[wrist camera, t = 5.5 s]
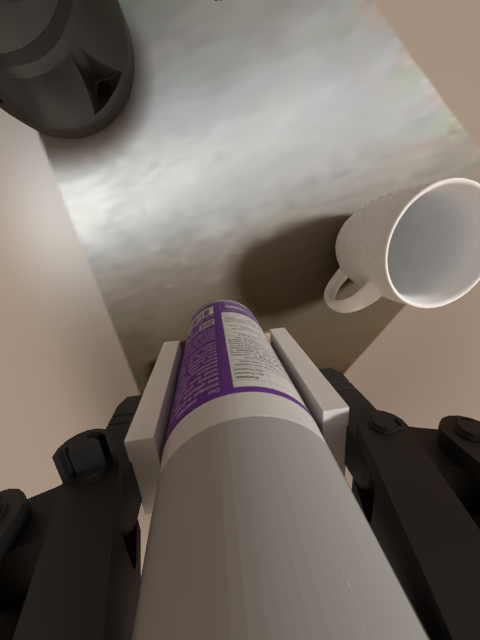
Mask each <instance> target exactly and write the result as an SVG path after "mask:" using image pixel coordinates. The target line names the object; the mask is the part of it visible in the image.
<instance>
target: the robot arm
mask: <svg viewBox="0 0 480 640" xmlns="http://www.w3.org/2000/svg"><path fill="white" fill-rule="evenodd" d="M215 1H223V0H215ZM133 74H134V55H133V47H132V41H131V36H130V32H129V29H128V26H127V22H126V20H125V17H124V15H123V12H122V9H121V7H120V4H119V2H118V0H0V108H2V109H3V110H4V111H6V112H7V113H9V114H10V115H12V116H13V117H15V118H16V119H18V120H20V121H21V122H23V123H24V124H26V125H28V126H30V127H31V128H33V129H35V130H37V131H40V132H42V133H45V134H48V135H51V136H56V137H61V138H81V137H86V136H89V135H92V134H95V133H97V132H99V131H101V130H103V129H104V128H106V127H107V126H108V125H110V124H111V123H112V122H113V121H114V120H115V119H116V118H117V116H118V115H119V114H120V112H121V111H122V109H123V108H124V106H125V104H126V102H127V99H128V97H129V94H130V91H131V87H132V81H133ZM270 341H271V346H272V348H273V349H274V351H275V353H276V355H277V356H278V358H279V360H280V361H281V363H282V365H283V367H284V368H285V370H286V372H287V374H288V375H289V377H290V379H291V380H292V382H293V384H294V386H295V387H296V389H297V391H298V393H299V394H300V396H301V398H302V400H303V401H304V403H305V405H306V406H307V408H308V410H309V412H310V413H311V415H312V417H313V419H314V420H315V422H316V424H317V426H318V428H319V430H320V432H321V434H322V436H323V438H324V440H325V441H326V443H327V445H328V447H329V449H330V451H331V453H332V454H333V456H334V458H335V460H336V462H337V464H338V466H339V468H340V470H341V471H342V473H343V475H344V477H345V465H346V466H347V468H348V470H349V471H350V473H351V475H352V476H353V483H352V492H353V494H354V496H355V498H356V500H357V501H358V503H359V505H360V507H361V509H362V511H363V513H364V515H365V517H366V518H367V520H368V522H369V524H370V526H371V528H372V530H373V532H374V533H375V535H376V537H377V539H378V541H379V543H380V545H381V547H382V548H383V550H384V552H385V554H386V556H387V558H388V560H389V562H390V563H391V565H392V567H393V569H394V571H395V573H396V575H397V577H398V579H399V580H400V582H401V584H402V586H403V588H404V590H405V592H406V594H407V595H408V597H409V599H410V601H411V603H412V605H413V607H414V609H415V610H416V612H417V614H418V616H419V618H420V620H421V622H422V624H423V626H424V627H425V629H426V631H427V633H428V635H429V637H430V639H431V640H480V421H477V420H474V419H471V418H468V417H463V416H447V417H444V418H442V419H441V421H440V423H439V427H438V429H427V428H415V427H409V426H408V425H407V424H406V423H405V422H404V421H403V420H402V419H400V418H398V417H397V416H395V415H393V414H391V413H388V412H385V411H379V410H376V409H375V408H374V407H373V406H372V404H371V403H370V402H369V401H368V400H367V399H366V398H365V397H364V396H363V395H362V394H361V393H360V392H359V391H358V390H357V389H355V387H354V386H353V385H352V384H351V383H350V382H349V381H348V380H347V378H346V377H345V376H344V375H343V374H342V373H340V372H338V371H336V370H334V369H332V368H325V369H318V368H317V367H316V366H315V365H314V364H313V362H312V361H311V360H310V359H309V357H308V356H307V355H306V354H305V353H304V351H303V350H302V349H301V348H300V346H299V345H298V344H297V343H296V342H295V340H294V339H293V338H292V337H291V335H290V334H289V333H288V332H287V331H286V329H285V328H277V329H270ZM181 361H182V353H181V347H180V342H179V341H172V342H164V344H163V346H162V349H161V351H160V354H159V356H158V359H157V361H156V364H155V366H154V369H153V371H152V374H151V376H150V379H149V381H148V384H147V386H146V388H145V391H144V393H143V395H138V396H131V397H127V398H126V399H125V400H124V401H123V402H122V403H120V404H119V405H118V406H117V408H116V410H115V412H114V414H113V418H111V420H110V422H109V424H108V426H107V427H106V429H93V430H87V431H85V432H82V433H80V434H77V435H75V436H74V437H72V438H71V439H69V440H67V441H66V442H65V443H64V444H63V445H61V446H60V447H59V448H58V449H57V451H56V452H55V454H54V455H53V457H52V458H53V461H54V463H55V465H56V468H57V470H58V472H59V475H60V477H61V480H62V482H63V484H62V485H60V486H58V487H56V488H54V489H51V490H48V491H46V492H44V493H41V494H39V495H36V496H34V497H31V498H29V499H27V498H26V496H25V494H24V493H23V492H22V491H21V490H20V489H7V490H4V491H1V492H0V640H130V639H131V633H132V627H133V621H134V616H135V610H136V604H137V598H138V593H139V587H140V581H141V573H140V572H141V569H140V568H141V566H140V565H141V563H140V562H141V560H140V559H141V553H140V552H141V547H140V545H141V535H140V534H141V531H140V526H139V522H138V519H137V518H138V513H139V510H140V506H141V502H142V505H143V509H144V512H145V514H150V513H152V512H153V506H154V500H155V494H156V489H157V483H158V477H159V471H160V465H161V458H162V452H163V447H164V442H165V437H166V433H167V428H168V423H169V418H170V414H171V409H172V404H173V399H174V395H175V390H176V385H177V380H178V375H179V371H180V366H181Z"/></svg>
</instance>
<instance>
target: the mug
mask: <svg viewBox="0 0 480 640" xmlns="http://www.w3.org/2000/svg"><path fill="white" fill-rule="evenodd" d="M335 250H336V257H337V261H338V263H339V266H340V268H339V269H338V270H337V271H336V273H335V274H334V275H333V277H332V278H331V279H330V281H329V283H328V284H327V286H326V288H325V291H324V299H325V302H326V303H327V305H328V306H329V307H330V308H331V309H333V310H334V311H337V312H341V313H349V312H354V311H357V310H360V309H362V308H365V307H367V306H368V305H370V304H372V303H374V302H375V301H376V300H377V299H379V298H380V297H385V298H387V299H390V300H394V301H396V302H400V303H403V304H406V305H410V306H413V307H418V308H435V307H440V306H443V305H446V304H448V303H450V302H453V301H455V300H456V299H458V298H460V297H461V296H463V295H464V294H466V293H467V292H468V291H469V290H470V289H471V288H472V287H473V286H474V285H475V284H476V283H477V282H478V281H479V280H480V184H479V183H477V182H475V181H472V180H469V179H465V178H450V179H444V180H439V181H435V182H432V183H428V184H421V185H419V186H415V187H409V188H407V189H404V190H399V191H397V192H394V193H389V194H387V195H386V196H382V197H379V198H378V199H376V200H373V201H371V202H370V203H369V204H366V205H364V206H363V207H362V208H360V209H358V210H357V212H355V213H353V215H352V216H351V217H349V218H348V220H347V221H346V222H345V223H344V225H343V226H342V227H341V229H340V231H339V234H338V236H337V240H336V246H335ZM348 277H349V279H350V280H352V281H353V282H354V283H356V284H358V285H359V286H360V287H362V288H361V289H360V290H359V291H358V292H357V293H356V294H354V295H353V296H351V297H349V298H347V299H344V300H335V296H336V294H337V292H338V290H339V288H340V286H341V285H342V284H343V283H344V281H345V280H346V279H347V278H348Z"/></svg>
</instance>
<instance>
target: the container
mask: <svg viewBox="0 0 480 640" xmlns="http://www.w3.org/2000/svg"><path fill="white" fill-rule="evenodd" d="M130 640H431V639H430V637H429V635H428V633H427V631H426V629H425V627H424V626H423V624H422V622H421V620H420V618H419V616H418V614H417V612H416V610H415V609H414V607H413V605H412V603H411V601H410V599H409V597H408V595H407V594H406V592H405V590H404V588H403V586H402V584H401V582H400V580H399V579H398V577H397V575H396V573H395V571H394V569H393V567H392V565H391V563H390V562H389V560H388V558H387V556H386V554H385V552H384V550H383V548H382V547H381V545H380V543H379V541H378V539H377V537H376V535H375V533H374V532H373V530H372V528H371V526H370V524H369V522H368V520H367V518H366V517H365V515H364V513H363V511H362V509H361V507H360V505H359V503H358V501H357V500H356V498H355V496H354V494H353V492H352V490H351V488H350V487H349V485H348V483H347V481H346V479H345V477H344V475H343V473H342V471H341V470H340V468H339V466H338V464H337V462H336V460H335V458H334V456H333V454H332V453H331V451H330V449H329V447H328V445H327V443H326V441H325V440H324V438H323V436H322V434H321V432H320V430H319V428H318V426H317V424H316V422H315V420H314V419H313V417H312V415H311V413H310V412H309V410H308V408H307V406H306V405H305V403H304V401H303V400H302V398H301V396H300V394H299V393H298V391H297V389H296V387H295V386H294V384H293V382H292V380H291V379H290V377H289V375H288V374H287V372H286V370H285V368H284V367H283V365H282V363H281V361H280V360H279V358H278V356H277V355H276V353H275V351H274V349H273V348H272V346H271V344H270V342H269V341H268V339H267V337H266V335H265V334H264V332H263V330H262V329H261V327H260V325H259V323H258V322H257V320H256V318H255V317H254V315H253V314H252V312H251V311H250V310H249V309H248V308H247V307H245V306H244V305H242V304H240V303H238V302H235V301H231V300H217V301H213V302H210V303H208V304H206V305H204V306H203V307H201V308H200V309H199V310H198V311H197V312H196V313H195V315H194V316H193V318H192V320H191V322H190V325H189V328H188V333H187V337H186V342H185V347H184V352H183V356H182V361H181V366H180V371H179V375H178V380H177V385H176V390H175V395H174V399H173V404H172V409H171V414H170V418H169V423H168V428H167V433H166V437H165V442H164V447H163V452H162V458H161V465H160V471H159V477H158V483H157V489H156V494H155V500H154V506H153V512H152V517H151V523H150V529H149V535H148V541H147V546H146V552H145V558H144V564H143V569H142V575H141V581H140V587H139V593H138V598H137V604H136V610H135V616H134V621H133V627H132V633H131V639H130Z"/></svg>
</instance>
